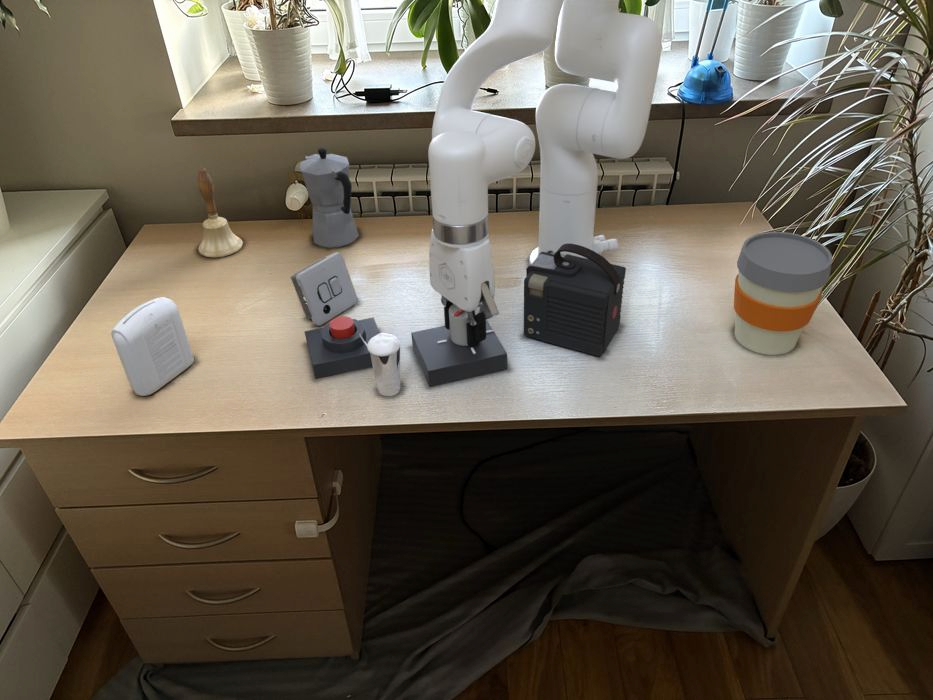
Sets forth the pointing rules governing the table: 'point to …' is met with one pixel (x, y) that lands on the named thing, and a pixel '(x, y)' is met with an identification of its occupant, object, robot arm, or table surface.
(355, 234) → the coffeepot
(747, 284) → the reusable coffee cup
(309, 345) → the power housing
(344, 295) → the electrical switch
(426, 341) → the panel
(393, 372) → the milkshake
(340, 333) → the power button
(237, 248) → the hand bell
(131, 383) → the photo printer
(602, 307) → the camera
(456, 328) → the dial
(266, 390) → the table surface
